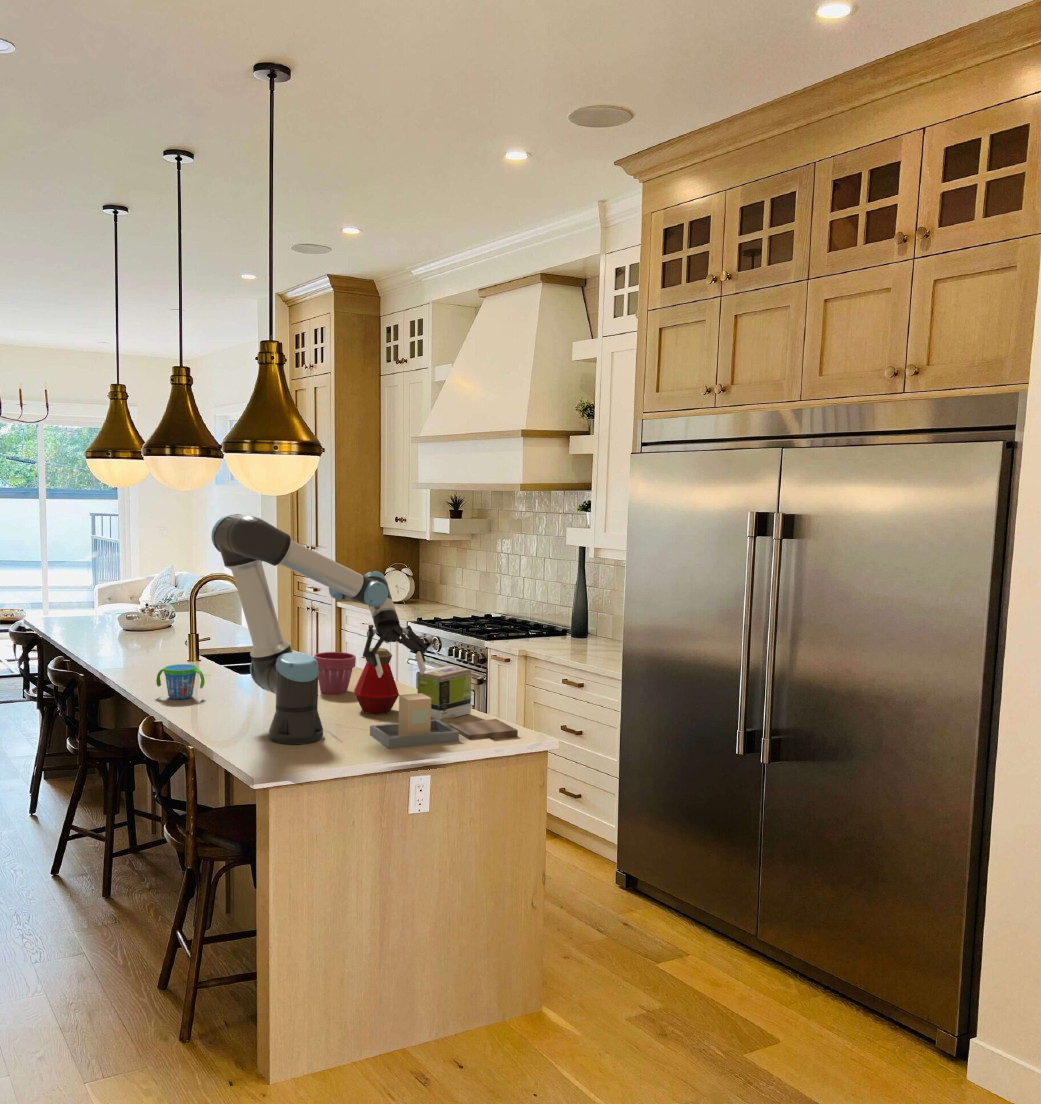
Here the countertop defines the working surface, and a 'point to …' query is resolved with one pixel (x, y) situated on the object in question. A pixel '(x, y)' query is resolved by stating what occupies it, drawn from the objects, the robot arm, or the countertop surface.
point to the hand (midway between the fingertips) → (402, 673)
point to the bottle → (377, 686)
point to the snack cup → (180, 680)
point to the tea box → (447, 691)
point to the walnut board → (485, 729)
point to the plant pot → (335, 671)
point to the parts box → (414, 714)
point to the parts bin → (390, 738)
